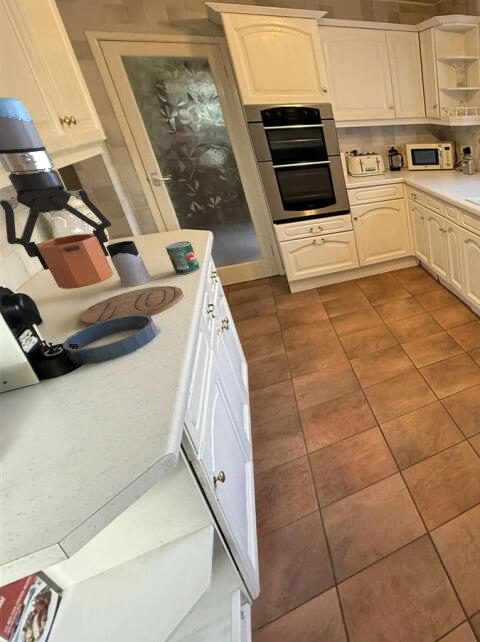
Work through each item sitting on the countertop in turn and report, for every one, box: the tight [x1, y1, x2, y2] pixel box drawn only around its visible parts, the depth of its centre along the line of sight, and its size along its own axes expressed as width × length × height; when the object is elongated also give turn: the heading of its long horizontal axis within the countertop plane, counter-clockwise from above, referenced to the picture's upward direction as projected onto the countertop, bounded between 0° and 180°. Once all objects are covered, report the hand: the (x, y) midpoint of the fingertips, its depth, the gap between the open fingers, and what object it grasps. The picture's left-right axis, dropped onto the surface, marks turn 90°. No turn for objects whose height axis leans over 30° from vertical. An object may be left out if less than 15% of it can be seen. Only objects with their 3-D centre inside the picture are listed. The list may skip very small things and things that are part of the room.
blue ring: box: [62, 315, 159, 365], centre depth 106 cm, size 17×17×6 cm
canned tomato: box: [164, 240, 201, 275], centre depth 155 cm, size 8×8×11 cm
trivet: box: [80, 285, 185, 328], centre depth 128 cm, size 25×25×2 cm
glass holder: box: [105, 240, 153, 288], centre depth 147 cm, size 9×14×15 cm, turn 30°
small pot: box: [35, 233, 115, 290], centre depth 99 cm, size 13×10×11 cm
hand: (77, 261), depth 99 cm, fingers closed on small pot, 10 cm apart
